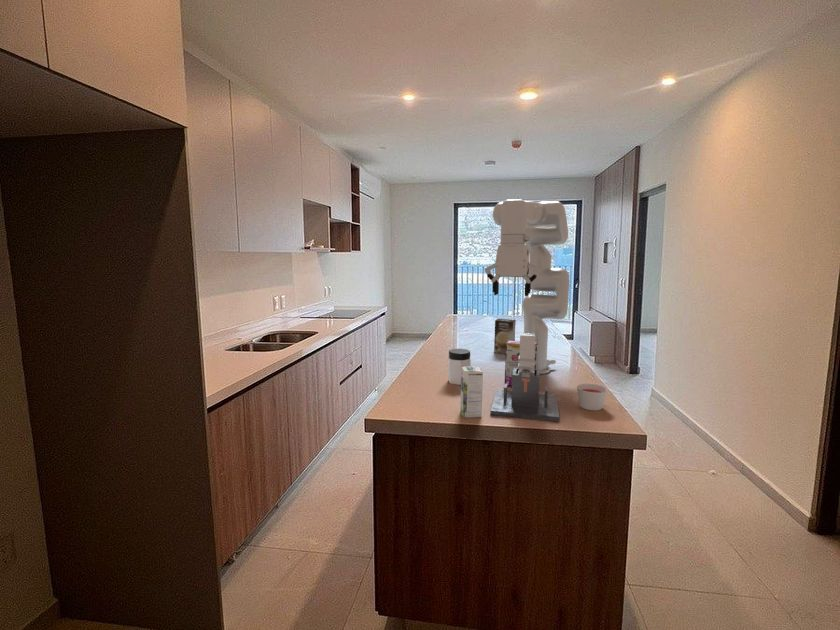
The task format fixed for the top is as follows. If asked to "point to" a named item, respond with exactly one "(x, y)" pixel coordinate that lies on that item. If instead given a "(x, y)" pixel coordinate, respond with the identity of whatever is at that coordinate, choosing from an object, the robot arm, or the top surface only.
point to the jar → (457, 364)
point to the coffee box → (503, 334)
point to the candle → (591, 396)
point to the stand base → (525, 399)
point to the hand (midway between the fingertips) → (511, 295)
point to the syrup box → (471, 392)
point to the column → (527, 353)
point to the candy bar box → (514, 359)
